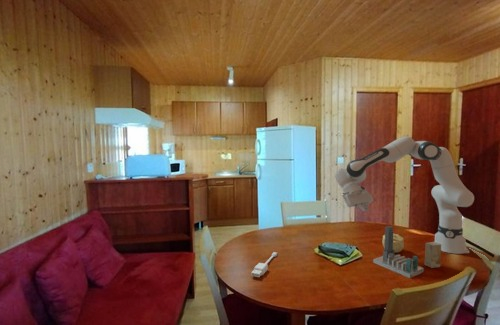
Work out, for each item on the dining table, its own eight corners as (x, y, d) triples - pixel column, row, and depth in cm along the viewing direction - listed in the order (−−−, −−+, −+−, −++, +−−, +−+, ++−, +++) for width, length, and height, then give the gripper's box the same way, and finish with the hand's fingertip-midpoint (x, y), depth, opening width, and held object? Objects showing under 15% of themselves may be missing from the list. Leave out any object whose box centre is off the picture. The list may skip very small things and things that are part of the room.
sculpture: (382, 252, 160) (382, 235, 160) (382, 245, 171) (382, 229, 170) (403, 255, 155) (404, 237, 154) (403, 248, 166) (403, 231, 165)
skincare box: (431, 268, 139) (432, 245, 138) (424, 264, 143) (424, 242, 142) (441, 266, 141) (441, 244, 140) (433, 263, 145) (434, 241, 144)
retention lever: (384, 253, 145) (385, 226, 144) (389, 252, 147) (389, 225, 146) (388, 255, 143) (388, 227, 142) (392, 253, 145) (393, 226, 144)
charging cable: (279, 256, 160) (279, 250, 160) (259, 279, 131) (259, 272, 131) (272, 254, 162) (272, 249, 162) (250, 277, 133) (250, 270, 133)
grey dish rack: (373, 262, 147) (373, 248, 146) (386, 257, 153) (387, 244, 152) (409, 278, 129) (410, 262, 129) (423, 272, 135) (424, 256, 135)
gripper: (343, 190, 157) (357, 209, 149) (366, 187, 167) (380, 205, 159) (338, 196, 161) (351, 215, 153) (360, 192, 171) (374, 211, 163)
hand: (366, 210), depth 156 cm, fingers closed
